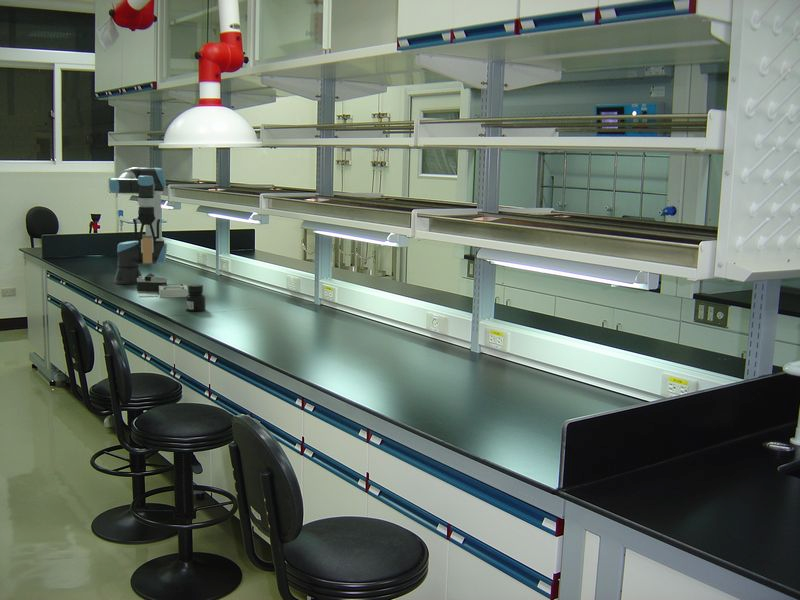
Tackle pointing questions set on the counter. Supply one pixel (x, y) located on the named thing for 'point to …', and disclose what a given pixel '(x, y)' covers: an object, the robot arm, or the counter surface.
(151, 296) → the mat
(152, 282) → the camera
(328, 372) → the counter surface
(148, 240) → the plug
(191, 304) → the ink bottle
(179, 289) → the frame
